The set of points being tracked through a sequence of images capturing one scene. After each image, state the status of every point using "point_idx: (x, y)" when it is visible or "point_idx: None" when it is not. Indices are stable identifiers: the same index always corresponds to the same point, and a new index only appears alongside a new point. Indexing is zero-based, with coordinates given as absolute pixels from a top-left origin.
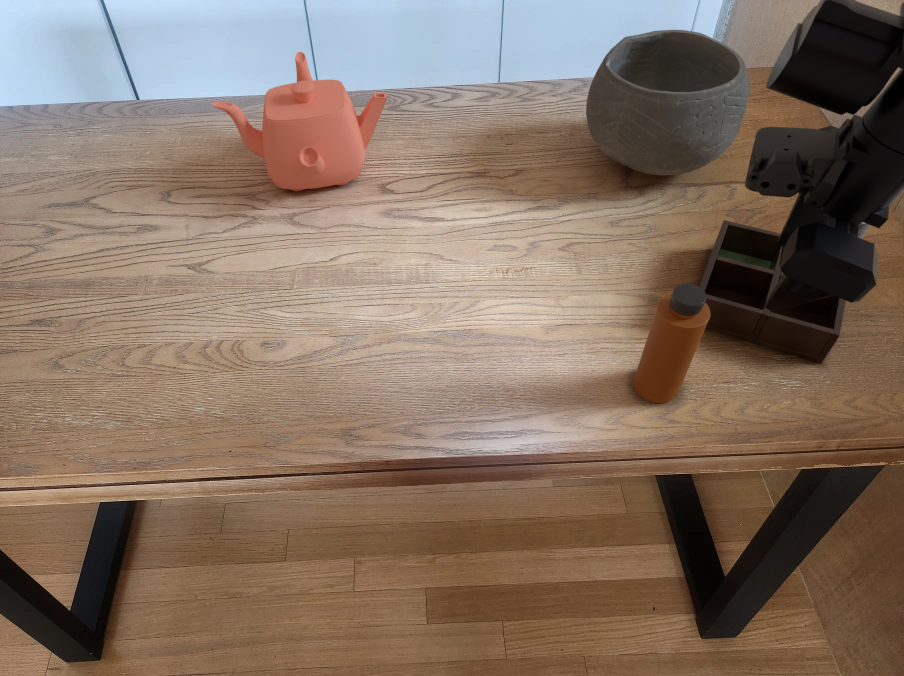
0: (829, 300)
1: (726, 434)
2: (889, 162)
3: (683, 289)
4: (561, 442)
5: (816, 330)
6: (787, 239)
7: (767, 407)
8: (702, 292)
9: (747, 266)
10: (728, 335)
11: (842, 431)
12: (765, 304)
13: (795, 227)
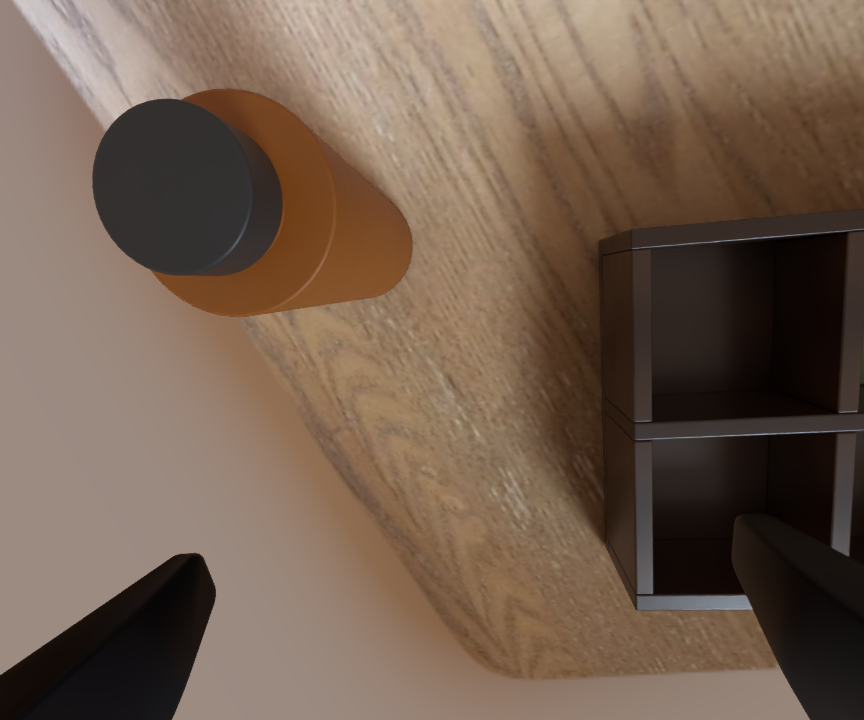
0: None
1: (315, 417)
2: None
3: (186, 145)
4: (110, 120)
5: (633, 557)
6: (769, 584)
7: (425, 472)
8: (217, 243)
9: (846, 334)
10: (601, 348)
11: (437, 603)
12: (187, 555)
13: (855, 679)
